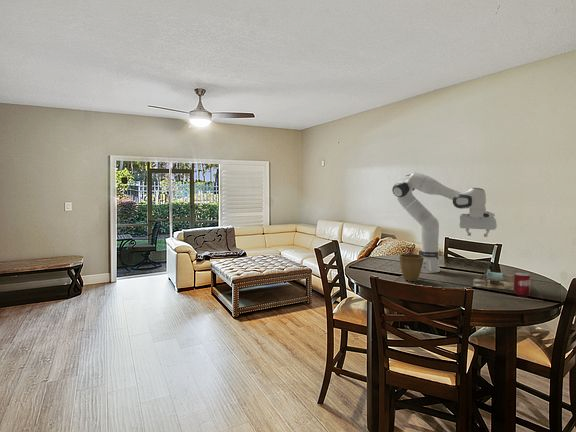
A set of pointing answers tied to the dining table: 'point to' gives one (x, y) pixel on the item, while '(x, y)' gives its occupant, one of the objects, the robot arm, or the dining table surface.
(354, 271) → the dining table surface
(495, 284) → the block
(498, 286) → the board
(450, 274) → the dining table surface
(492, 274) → the lid
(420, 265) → the plant pot
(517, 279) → the soda can
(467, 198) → the robot arm
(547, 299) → the dining table surface
